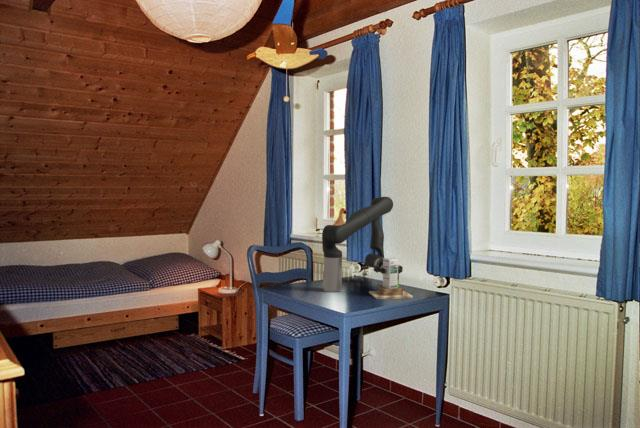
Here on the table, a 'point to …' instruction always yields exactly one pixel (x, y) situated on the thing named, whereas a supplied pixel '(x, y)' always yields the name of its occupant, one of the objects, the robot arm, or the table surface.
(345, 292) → the table surface
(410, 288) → the table surface
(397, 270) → the syrup box
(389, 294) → the socket caddy
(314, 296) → the table surface
